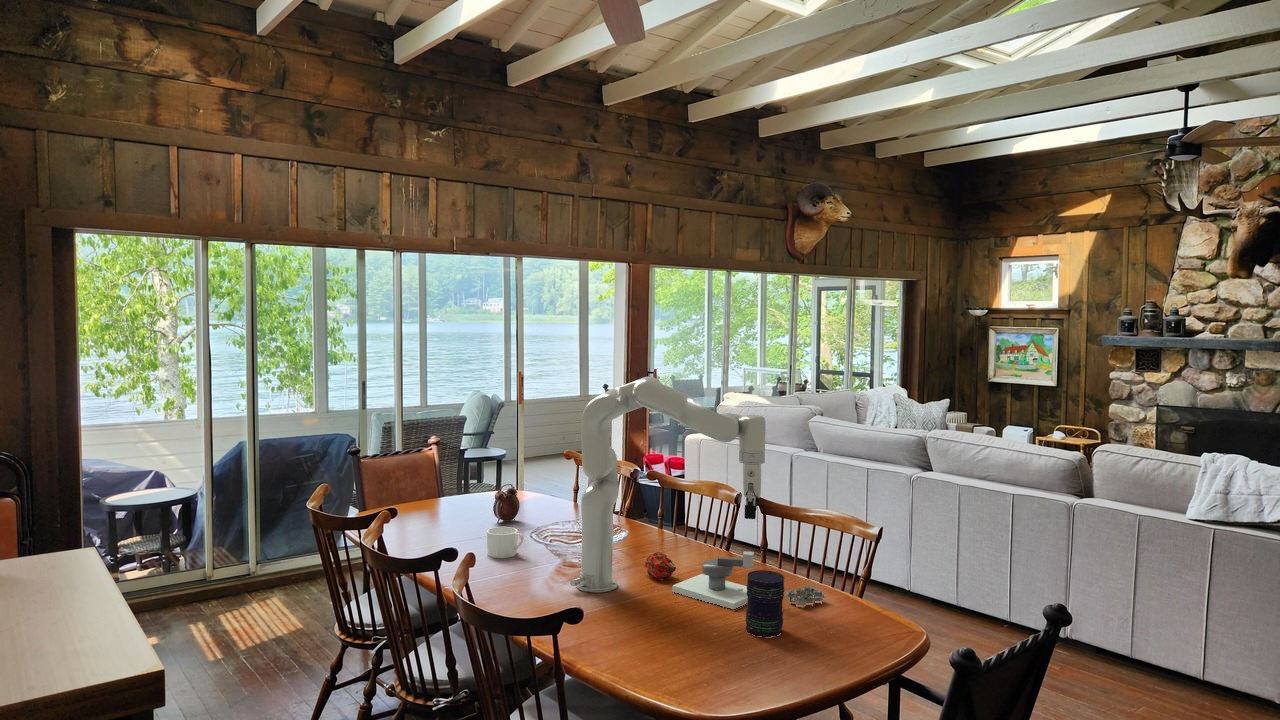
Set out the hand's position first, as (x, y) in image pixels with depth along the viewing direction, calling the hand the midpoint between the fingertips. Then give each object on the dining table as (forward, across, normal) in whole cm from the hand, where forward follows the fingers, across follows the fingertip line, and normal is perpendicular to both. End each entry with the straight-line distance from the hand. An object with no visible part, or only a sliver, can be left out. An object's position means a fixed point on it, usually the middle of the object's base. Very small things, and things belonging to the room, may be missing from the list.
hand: (750, 514), depth 239 cm
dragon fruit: (+25, +11, +28) cm, 39 cm away
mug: (+24, +22, +83) cm, 89 cm away
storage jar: (+25, -25, -5) cm, 36 cm away
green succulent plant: (+26, 0, -16) cm, 30 cm away
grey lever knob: (+18, 0, +6) cm, 19 cm away
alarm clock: (+24, +63, +97) cm, 118 cm away
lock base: (+25, 0, +10) cm, 27 cm away
